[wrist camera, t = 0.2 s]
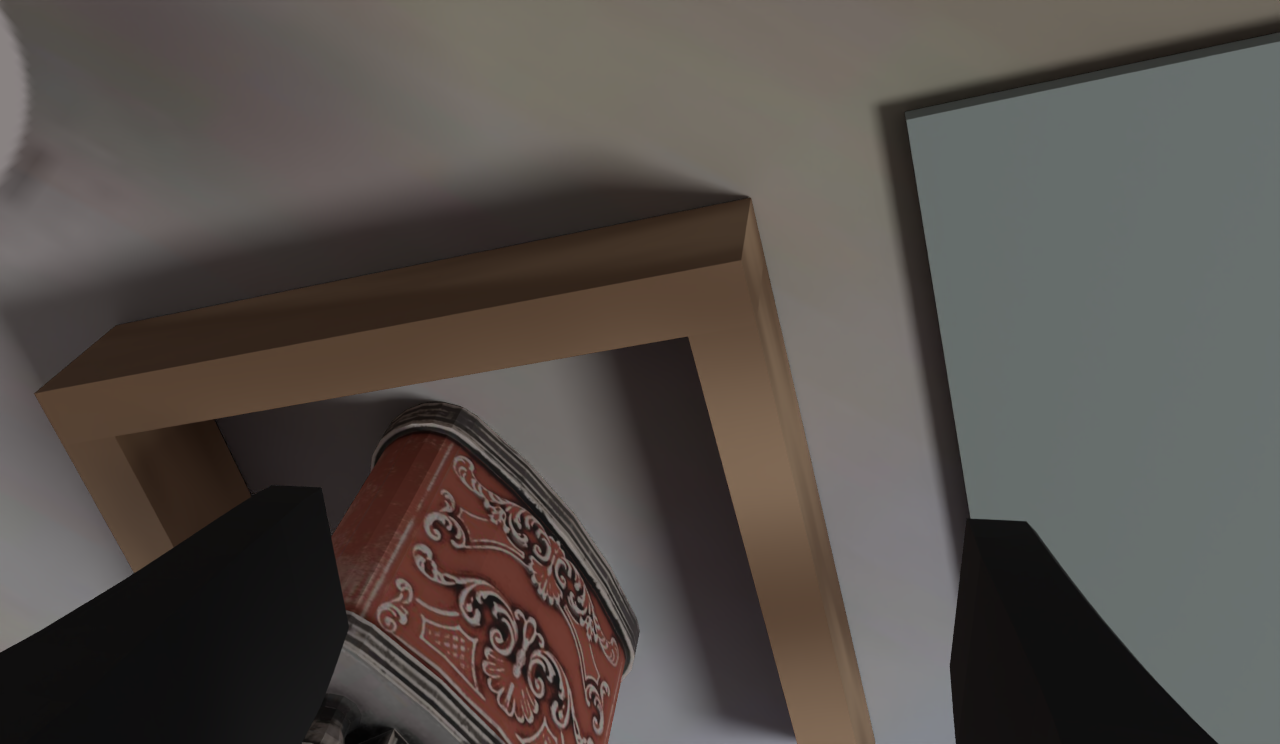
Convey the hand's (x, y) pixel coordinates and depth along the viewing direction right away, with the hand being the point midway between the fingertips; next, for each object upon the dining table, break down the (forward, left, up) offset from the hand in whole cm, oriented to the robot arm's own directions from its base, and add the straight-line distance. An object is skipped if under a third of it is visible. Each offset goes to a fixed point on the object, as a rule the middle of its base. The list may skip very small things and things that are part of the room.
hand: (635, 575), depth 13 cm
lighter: (-7, +6, -11) cm, 14 cm away
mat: (-9, -8, -11) cm, 16 cm away
